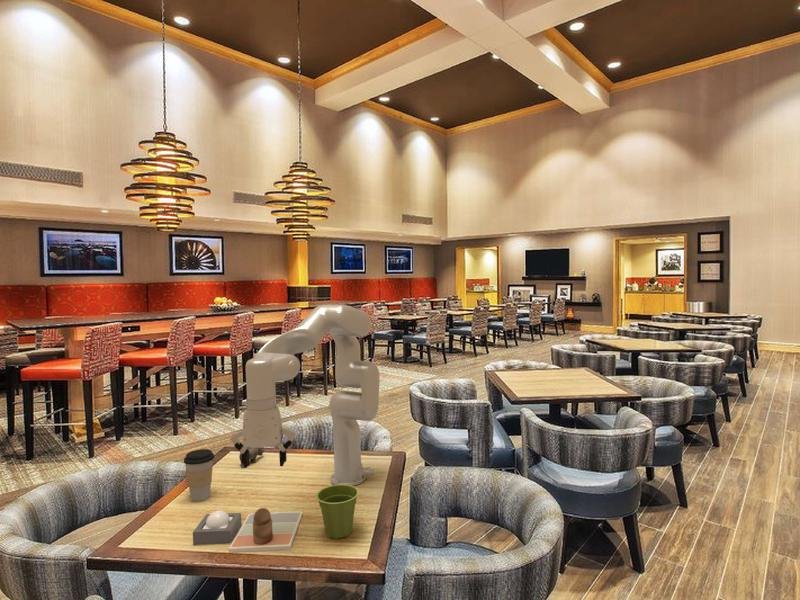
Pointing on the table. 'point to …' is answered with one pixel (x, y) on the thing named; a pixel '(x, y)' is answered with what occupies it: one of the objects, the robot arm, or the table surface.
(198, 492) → the coffee cup
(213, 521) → the pop dome
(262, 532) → the walnut pawn
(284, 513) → the game board
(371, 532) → the table surface
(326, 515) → the plant pot
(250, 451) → the rhino figurine
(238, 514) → the dome base
